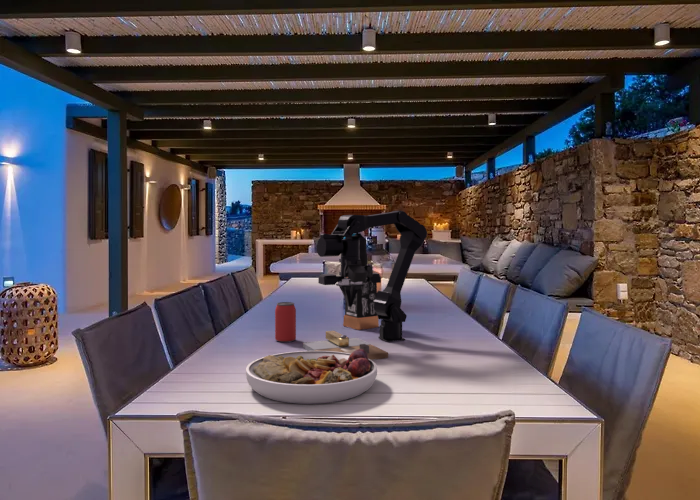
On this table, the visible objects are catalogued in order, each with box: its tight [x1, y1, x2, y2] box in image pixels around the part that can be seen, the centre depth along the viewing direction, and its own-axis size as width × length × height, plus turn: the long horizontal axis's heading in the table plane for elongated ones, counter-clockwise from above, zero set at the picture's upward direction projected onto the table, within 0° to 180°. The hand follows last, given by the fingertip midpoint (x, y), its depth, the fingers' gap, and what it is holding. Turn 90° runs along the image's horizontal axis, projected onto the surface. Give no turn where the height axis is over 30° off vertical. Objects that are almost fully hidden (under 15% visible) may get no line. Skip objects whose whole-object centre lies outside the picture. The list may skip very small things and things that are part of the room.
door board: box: [315, 344, 389, 361], centre depth 151 cm, size 18×11×4 cm, turn 113°
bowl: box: [245, 349, 378, 405], centre depth 123 cm, size 30×30×8 cm
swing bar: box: [325, 330, 350, 347], centre depth 160 cm, size 13×3×3 cm, turn 23°
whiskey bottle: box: [342, 239, 380, 331], centre depth 195 cm, size 10×10×32 cm
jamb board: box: [302, 337, 372, 351], centre depth 160 cm, size 18×12×2 cm, turn 113°
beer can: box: [274, 301, 297, 343], centre depth 171 cm, size 7×7×12 cm
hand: (349, 306), depth 164 cm, fingers closed
